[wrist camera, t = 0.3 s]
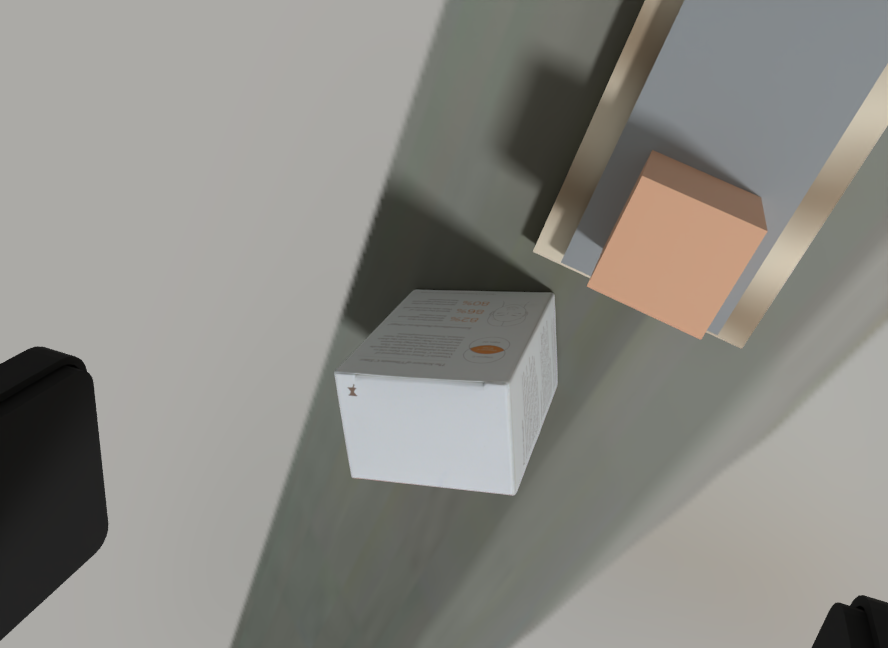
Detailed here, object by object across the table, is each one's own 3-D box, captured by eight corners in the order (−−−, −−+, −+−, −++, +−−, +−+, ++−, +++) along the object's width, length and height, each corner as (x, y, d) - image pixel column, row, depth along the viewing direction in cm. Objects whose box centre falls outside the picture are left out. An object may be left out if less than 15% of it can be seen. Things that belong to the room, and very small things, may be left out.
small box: (423, 376, 44) (345, 480, 35) (413, 285, 42) (327, 371, 32) (561, 386, 41) (516, 501, 32) (558, 289, 39) (509, 384, 30)
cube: (652, 149, 33) (641, 175, 28) (761, 197, 32) (767, 231, 28) (603, 248, 35) (586, 286, 31) (703, 294, 35) (701, 339, 30)
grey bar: (820, -287, 26) (855, -380, 19) (1050, -207, 25) (1172, -276, 18) (563, 257, 37) (529, 319, 30) (717, 328, 36) (717, 409, 29)
